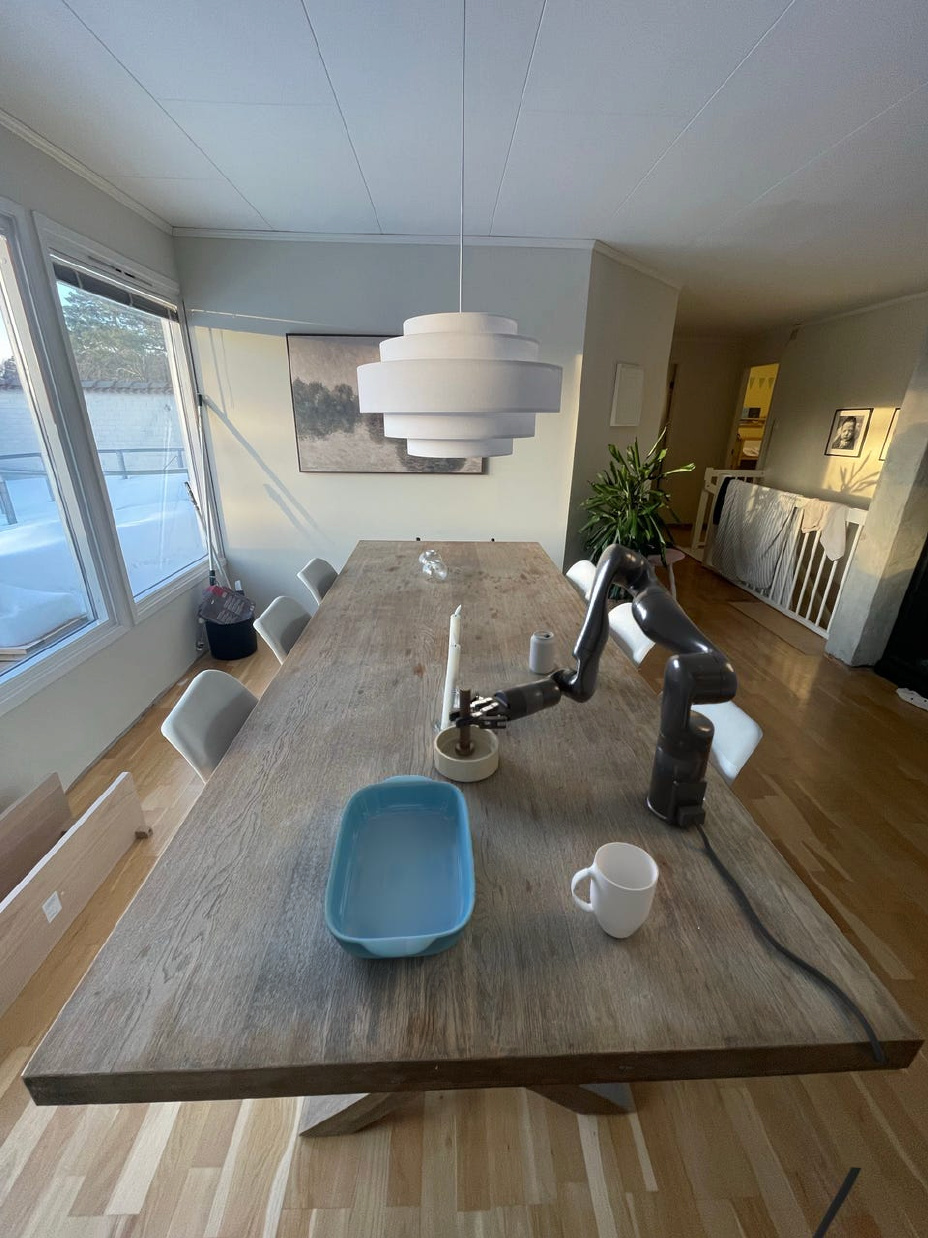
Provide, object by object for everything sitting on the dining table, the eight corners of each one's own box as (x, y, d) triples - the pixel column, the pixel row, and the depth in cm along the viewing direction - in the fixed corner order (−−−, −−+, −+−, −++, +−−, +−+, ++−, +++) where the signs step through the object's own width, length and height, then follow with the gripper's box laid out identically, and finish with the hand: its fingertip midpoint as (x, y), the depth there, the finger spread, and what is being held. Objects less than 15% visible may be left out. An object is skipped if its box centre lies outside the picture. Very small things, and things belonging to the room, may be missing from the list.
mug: (638, 900, 82) (648, 841, 78) (655, 953, 74) (667, 891, 69) (564, 897, 82) (570, 839, 78) (573, 950, 74) (580, 888, 70)
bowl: (504, 780, 109) (505, 758, 107) (438, 786, 107) (437, 764, 105) (491, 741, 122) (491, 721, 120) (431, 746, 120) (431, 726, 118)
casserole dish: (351, 804, 102) (349, 774, 99) (463, 799, 104) (464, 769, 101) (315, 998, 68) (309, 960, 65) (483, 986, 69) (484, 949, 67)
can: (553, 676, 154) (555, 639, 149) (527, 674, 155) (530, 637, 151) (554, 665, 160) (556, 630, 156) (529, 663, 162) (532, 628, 157)
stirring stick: (476, 755, 114) (476, 692, 109) (456, 757, 114) (456, 693, 108) (472, 744, 118) (473, 682, 113) (453, 745, 118) (453, 683, 112)
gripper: (503, 674, 124) (438, 691, 116) (537, 700, 112) (468, 721, 105) (502, 701, 126) (439, 720, 119) (535, 729, 115) (468, 752, 107)
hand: (453, 720), depth 112 cm, fingers closed on stirring stick, 2 cm apart
